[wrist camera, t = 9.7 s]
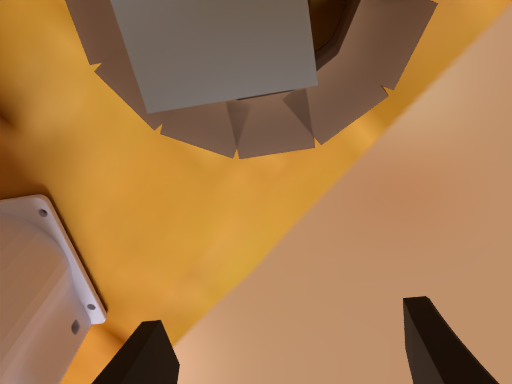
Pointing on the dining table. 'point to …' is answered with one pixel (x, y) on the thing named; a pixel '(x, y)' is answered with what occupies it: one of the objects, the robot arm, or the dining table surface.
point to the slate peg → (216, 49)
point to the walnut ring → (279, 103)
